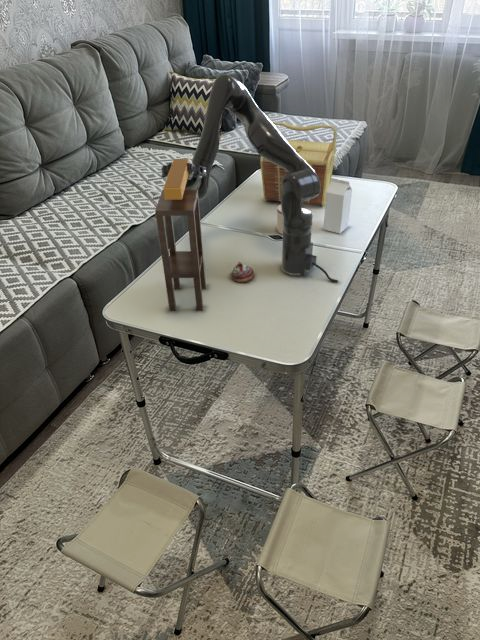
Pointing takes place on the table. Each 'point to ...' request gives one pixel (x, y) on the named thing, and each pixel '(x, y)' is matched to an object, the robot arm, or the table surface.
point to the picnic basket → (312, 154)
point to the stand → (181, 261)
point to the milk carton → (337, 205)
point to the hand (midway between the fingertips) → (179, 166)
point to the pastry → (242, 273)
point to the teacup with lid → (280, 220)
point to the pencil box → (176, 180)
